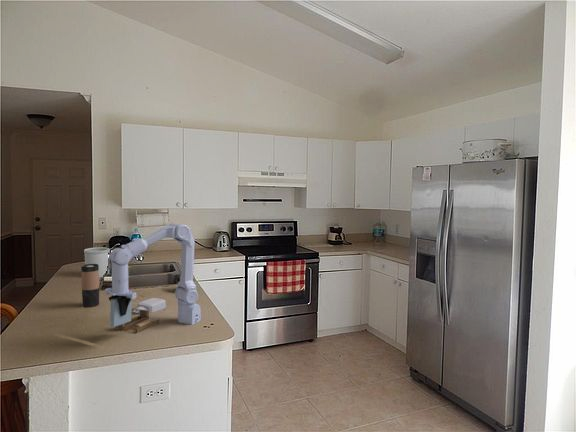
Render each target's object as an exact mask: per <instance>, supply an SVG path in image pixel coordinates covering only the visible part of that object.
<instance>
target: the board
mask: <svg viewBox="0 0 576 432" xmlns="http://www.w3.org/2000/svg"><path fill="white" fill-rule="evenodd" d="M119 298H121V297H119ZM132 301H133V299H131V301H130V303H129V305H128V308H127V312H126V315H123V316H120V309H119V304H118V301H117V298H115V299H111V301H110V314H109V315H110V319H109V326H110V327H112V328H115V326H118V325H121V324H124V323H127V322H130V321H131V319H132Z"/></svg>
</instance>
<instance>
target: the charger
mask: <svg viewBox="0 0 576 432" xmlns="http://www.w3.org/2000/svg"><path fill="white" fill-rule="evenodd" d="M166 305H167V302H166V300H165V299H163V298H158V297H150V298H148V299H145V300H143V301H140V302H139V301H138V302H137V307H136V308H133V311H132V313H134V314H139V315H140V310H141V309H142V310H147V311H149V314H150V313H155V312H157V311H160V310H161V311H163V310H166V308H167V306H166Z"/></svg>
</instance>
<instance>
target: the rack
mask: <svg viewBox="0 0 576 432" xmlns="http://www.w3.org/2000/svg"><path fill="white" fill-rule="evenodd" d="M148 319H150V313H149V311H147V310H142V309H141V310H140V314H139V315H137V316H135V317H131V321H130V322H127V323H124V324H121V325H118V326H115V327H113V329H114V330H118V331H122V332H127V333H129V334H133V335H135V334H138V333H141V332H143V331H145V330H146V329H149V328H152V327H155V326H157V325H158V324H161V322H160V319H156V320H153V322H151V323H149V324H146V325H144V326H142V327H139V328H137V329H136V330H134V327H135V325H136V324H138V323H140V322H143V321H145V320H148Z"/></svg>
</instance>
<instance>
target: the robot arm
mask: <svg viewBox="0 0 576 432" xmlns="http://www.w3.org/2000/svg"><path fill="white" fill-rule="evenodd" d="M166 238H167V239H173V240H175V241H176V242H178V243H179V244H180V245H181V249H180V250H181V253H180V256H181V257H180V271H181V274H180V273H179V274H180V281H179V282H178V284H177V283H176V284H177V285H176V289H175V291H174V297H175V298H176V299H177V322H178V323H180V324H187V325H191V326H192V325H195V324H196V323H198V322H199V323H200V321H202V315H201V314H202V309H201V308H202V307H201V305H200V304H198V303H196V301H197V300H198V298H199V293H198V291H197V285H196V284H195V281H194V282H193V275H194V271H195V270H194V269H195V268H194V267H195V245H196V244H195V243H196V242H195V238H194V236H193V234H192V229H191V228H190V227H189V226H188V225H186V224H181V223H175V222H171V223H169V224H166V225H164V226H162V227H160V228H159V229H158V230H156V231H154V232H152V233H151V234H150V235H147V236H145V237H143V238H140V237H138V238H135V237H134V238H133V239H131V241H130V242H129V243H126V244H122V245H120V247H116V248H113V249H112V251H111V252H109V261H110V262H111V287H108V288H105V289H104V295H110V296H109V297H108V300H109V301H110V302H111V299H115V298H117V301H118V304H119V309H120V316H123V315H126V312H127V308H128V305H129V303H130V301H131V299H132V300H134V299H137V292H135V291H132V290H130V289H129V262H131V259H133V258H135V257H137V256H138V255H140V254H142V253H144V252H145V251H147V248H148V247H149V246H151V245H152V244H155V243H157V242H159V241H161V240H163V239H166ZM119 297H121V298H119Z"/></svg>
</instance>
